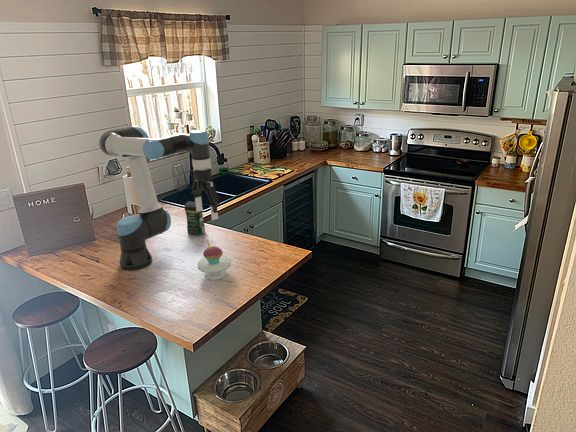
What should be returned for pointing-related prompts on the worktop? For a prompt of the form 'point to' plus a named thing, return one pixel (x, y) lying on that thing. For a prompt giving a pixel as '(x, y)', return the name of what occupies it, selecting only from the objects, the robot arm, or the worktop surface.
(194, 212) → the coffee jar
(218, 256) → the cupcake
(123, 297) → the worktop surface
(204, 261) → the cake stand
